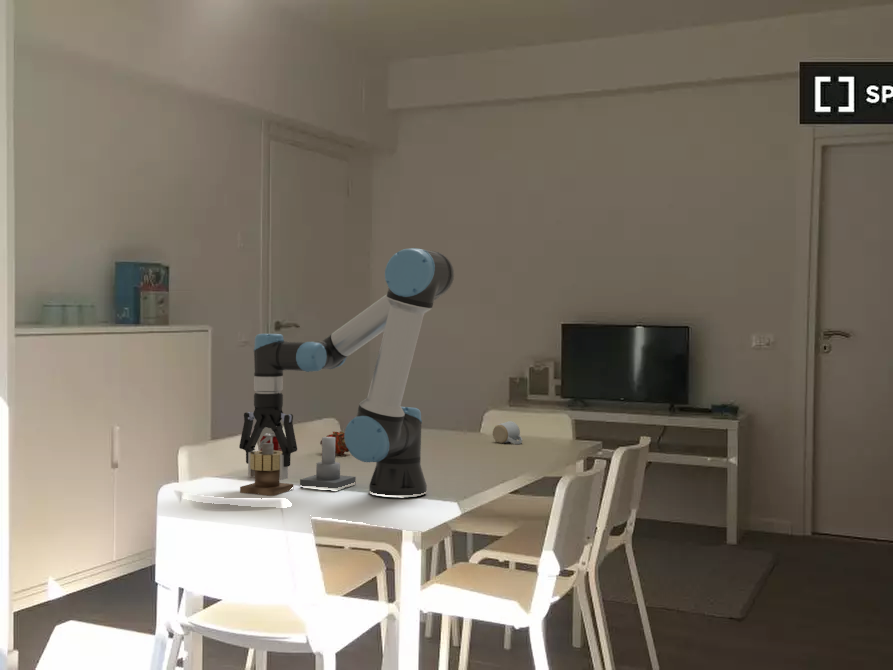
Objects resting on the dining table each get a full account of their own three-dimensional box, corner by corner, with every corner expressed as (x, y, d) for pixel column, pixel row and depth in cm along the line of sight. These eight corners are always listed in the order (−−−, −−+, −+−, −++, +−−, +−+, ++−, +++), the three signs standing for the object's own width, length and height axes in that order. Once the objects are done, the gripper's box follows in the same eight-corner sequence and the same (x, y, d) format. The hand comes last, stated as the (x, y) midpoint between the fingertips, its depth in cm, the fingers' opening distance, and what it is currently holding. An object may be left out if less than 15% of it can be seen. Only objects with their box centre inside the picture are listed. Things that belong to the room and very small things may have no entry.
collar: (291, 466, 259) (291, 451, 259) (273, 471, 251) (273, 456, 251) (262, 464, 263) (263, 449, 263) (243, 469, 254) (243, 453, 254)
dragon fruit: (351, 461, 320) (321, 463, 326) (361, 443, 327) (332, 446, 332) (340, 442, 316) (310, 444, 322) (350, 424, 323) (321, 427, 328)
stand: (293, 489, 260) (294, 442, 260) (272, 495, 251) (273, 447, 250) (261, 486, 264) (262, 440, 263) (240, 492, 254) (240, 444, 254)
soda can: (285, 473, 285) (285, 432, 284) (281, 477, 278) (282, 435, 278) (261, 473, 284) (262, 432, 284) (258, 477, 278) (258, 435, 277)
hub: (355, 485, 268) (356, 436, 268) (335, 491, 258) (336, 441, 257) (320, 482, 272) (321, 434, 272) (299, 488, 262) (300, 438, 262)
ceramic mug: (490, 442, 361) (491, 422, 361) (503, 440, 368) (504, 420, 368) (514, 446, 355) (515, 425, 355) (526, 443, 361) (527, 423, 361)
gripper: (311, 392, 256) (311, 478, 256) (241, 389, 264) (241, 472, 265) (296, 394, 249) (296, 482, 249) (225, 391, 257) (224, 476, 258)
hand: (267, 477), depth 257 cm, fingers closed on collar, 9 cm apart
